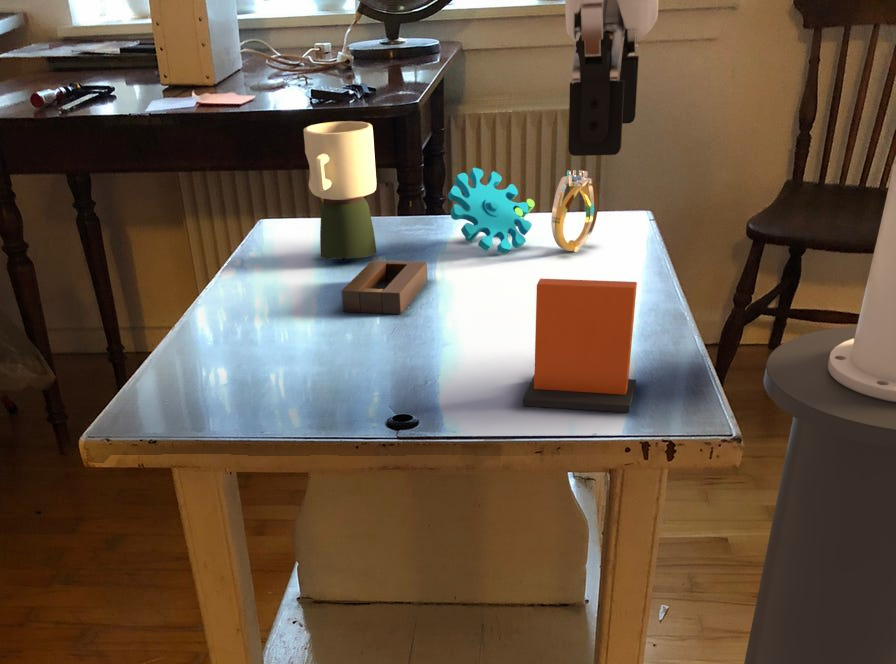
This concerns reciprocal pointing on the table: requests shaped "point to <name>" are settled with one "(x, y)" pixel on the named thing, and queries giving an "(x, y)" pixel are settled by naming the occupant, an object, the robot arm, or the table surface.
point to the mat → (580, 399)
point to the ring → (561, 210)
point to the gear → (490, 211)
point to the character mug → (343, 186)
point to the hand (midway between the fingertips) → (603, 137)
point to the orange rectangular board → (584, 335)
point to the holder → (395, 297)
